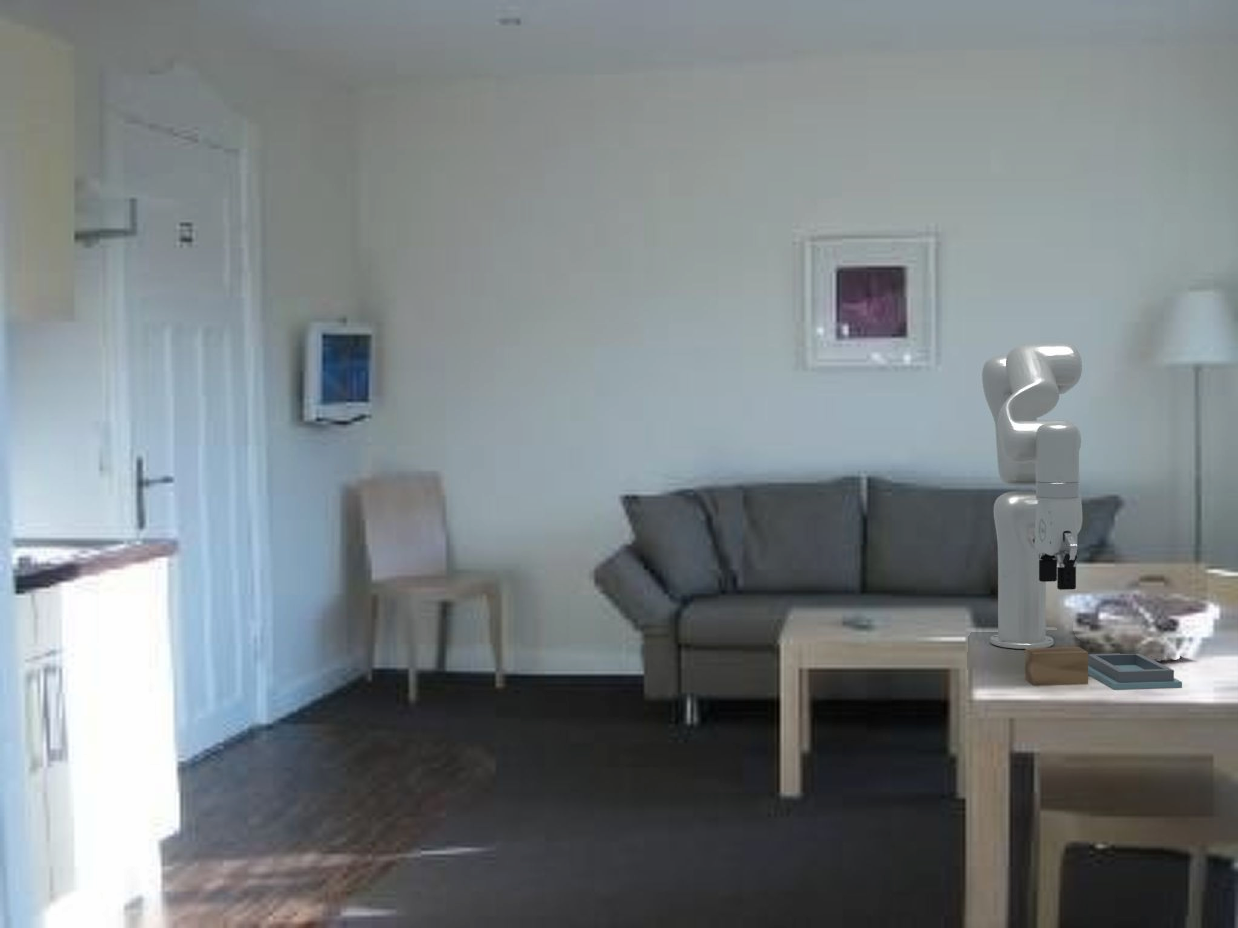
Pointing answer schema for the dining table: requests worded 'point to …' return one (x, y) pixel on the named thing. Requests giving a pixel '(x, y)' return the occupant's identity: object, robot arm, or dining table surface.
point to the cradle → (1130, 672)
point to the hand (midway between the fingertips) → (1057, 585)
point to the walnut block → (1056, 666)
